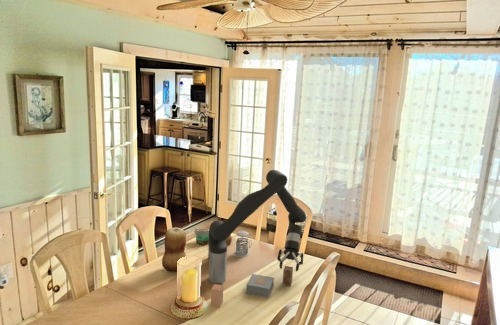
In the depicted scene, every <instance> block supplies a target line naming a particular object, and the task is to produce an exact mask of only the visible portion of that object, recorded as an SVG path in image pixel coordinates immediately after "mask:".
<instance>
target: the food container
mask: <svg viewBox="0 0 500 325" xmlns="http://www.w3.org/2000/svg"><path fill="white" fill-rule="evenodd" d="M193 232H194V233H195V242H196V245H198V244H199V246H208V245H209V230H208V229H197V228H196V227H195V228H194V231H193ZM207 244H208V245H207Z"/></svg>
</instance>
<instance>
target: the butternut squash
mask: <svg viewBox="0 0 500 325" xmlns="http://www.w3.org/2000/svg"><path fill="white" fill-rule="evenodd" d="M186 243H187V233H186V231H185V230H184V229H182V228H181V227H171V228H169V229H168V230H166V233H165V235H164V253H163V256H162V258H161V264H162V268H163V269H164V270H165V271H166V272H168V273H169V272H172V273H174V272H176V273H177V272H178V271H177V261H178V260H179V259H180V258H182V257H185V256H186V257H187V255H186V252H185V248H186V245H187V244H186Z"/></svg>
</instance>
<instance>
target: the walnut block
mask: <svg viewBox="0 0 500 325" xmlns="http://www.w3.org/2000/svg"><path fill="white" fill-rule="evenodd" d="M293 270H294V267H293V266H288V265H285V266H284V267H283V270H282V271H283V272H282V273H283V274H282V285H283V286H288V287H291V286H292V284H293V274H294V273H293V272H294V271H293Z"/></svg>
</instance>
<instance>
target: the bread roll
mask: <svg viewBox="0 0 500 325" xmlns="http://www.w3.org/2000/svg"><path fill="white" fill-rule="evenodd" d="M232 241H233V238H232V234H231V235H230V236H229V237H228V238H227V239H226V245H231V243H232Z"/></svg>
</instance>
